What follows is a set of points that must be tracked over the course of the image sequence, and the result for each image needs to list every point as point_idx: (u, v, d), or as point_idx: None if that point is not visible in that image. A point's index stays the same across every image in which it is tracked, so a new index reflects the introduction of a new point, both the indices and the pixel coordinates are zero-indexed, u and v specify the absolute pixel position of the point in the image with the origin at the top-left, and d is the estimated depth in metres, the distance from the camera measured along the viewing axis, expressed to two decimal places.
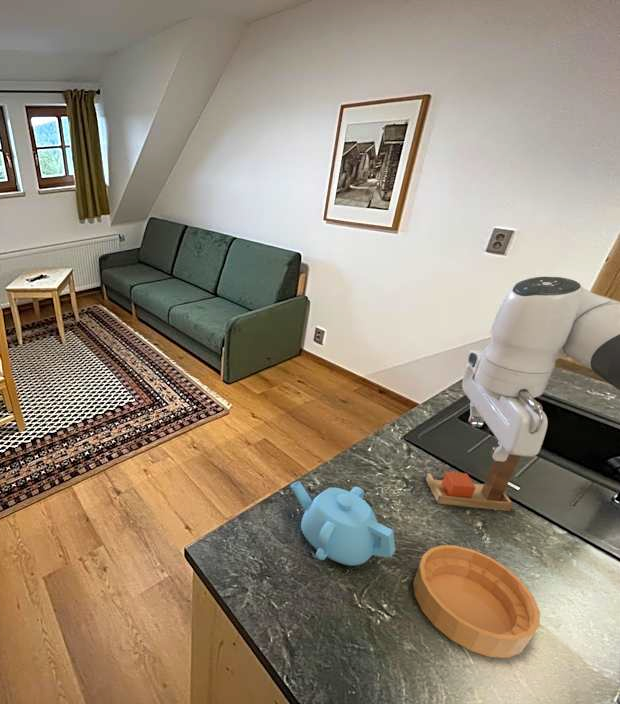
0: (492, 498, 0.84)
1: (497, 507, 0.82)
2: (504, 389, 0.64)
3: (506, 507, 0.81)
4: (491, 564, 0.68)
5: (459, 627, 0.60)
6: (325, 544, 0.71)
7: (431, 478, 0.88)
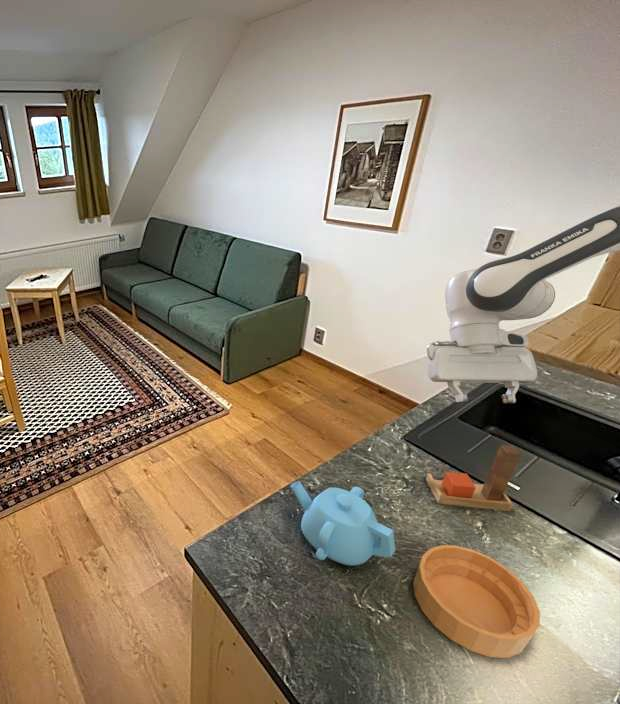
0: (492, 498, 0.84)
1: (497, 507, 0.82)
2: None
3: (506, 507, 0.81)
4: (491, 564, 0.68)
5: (459, 627, 0.60)
6: (325, 544, 0.71)
7: (431, 478, 0.88)
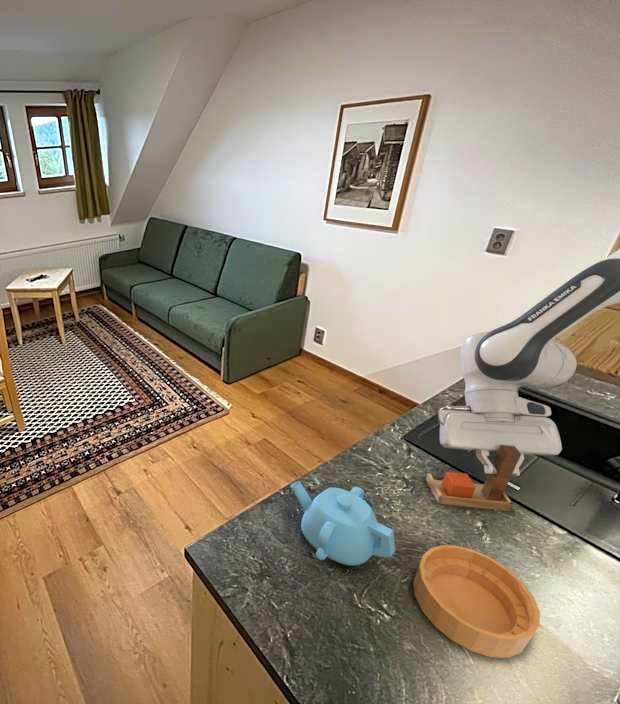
0: (492, 498, 0.84)
1: (497, 507, 0.82)
2: None
3: (506, 507, 0.81)
4: (491, 564, 0.68)
5: (459, 627, 0.60)
6: (325, 544, 0.71)
7: (431, 478, 0.88)
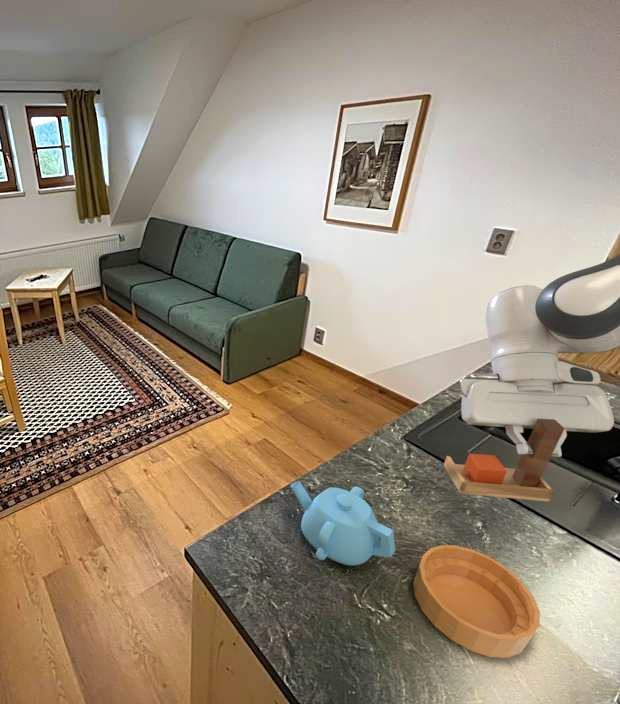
0: (526, 484, 0.69)
1: (534, 495, 0.67)
2: None
3: (545, 495, 0.67)
4: (491, 564, 0.68)
5: (459, 627, 0.60)
6: (325, 544, 0.71)
7: (451, 462, 0.74)
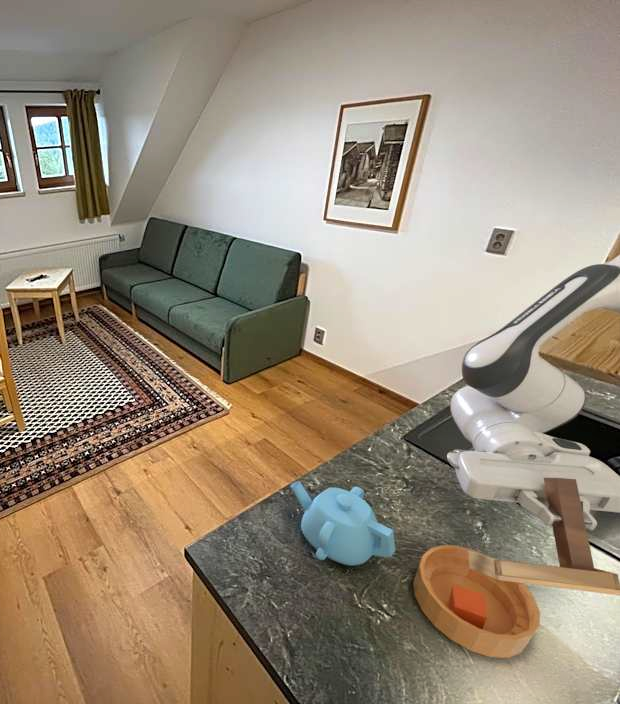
0: None
1: (597, 583, 0.50)
2: None
3: (610, 582, 0.49)
4: None
5: (459, 627, 0.60)
6: (325, 544, 0.71)
7: (474, 552, 0.57)
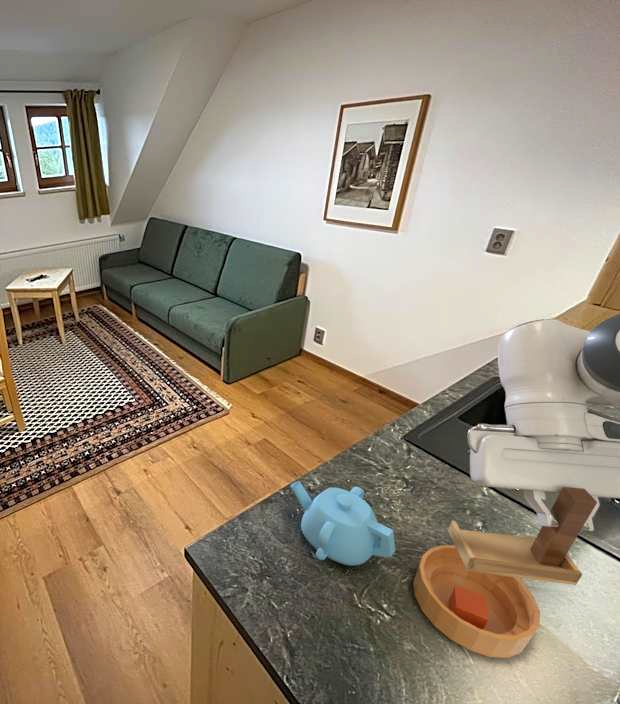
0: (548, 562, 0.57)
1: (558, 578, 0.56)
2: None
3: (571, 578, 0.55)
4: None
5: (459, 627, 0.60)
6: (325, 544, 0.71)
7: (457, 529, 0.62)
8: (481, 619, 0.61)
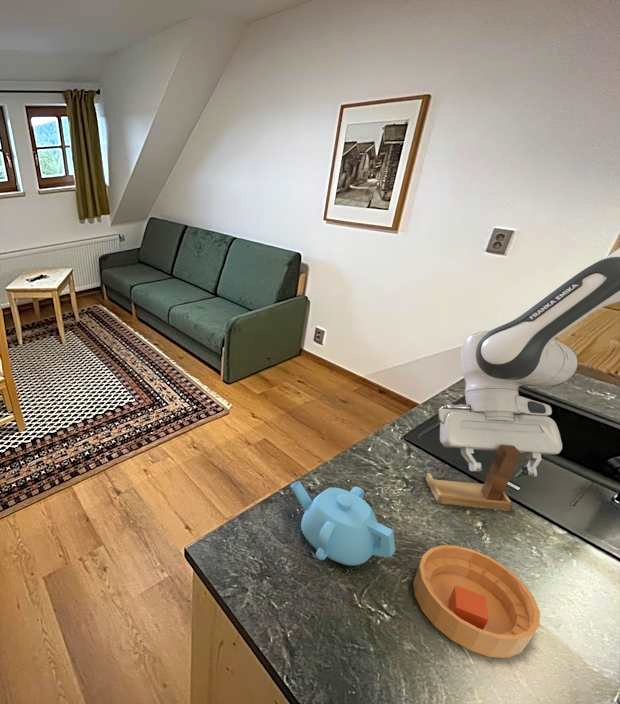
0: (492, 498, 0.84)
1: (497, 507, 0.82)
2: None
3: (506, 507, 0.81)
4: (491, 564, 0.68)
5: (459, 627, 0.60)
6: (325, 544, 0.71)
7: (431, 478, 0.88)
8: (481, 619, 0.61)
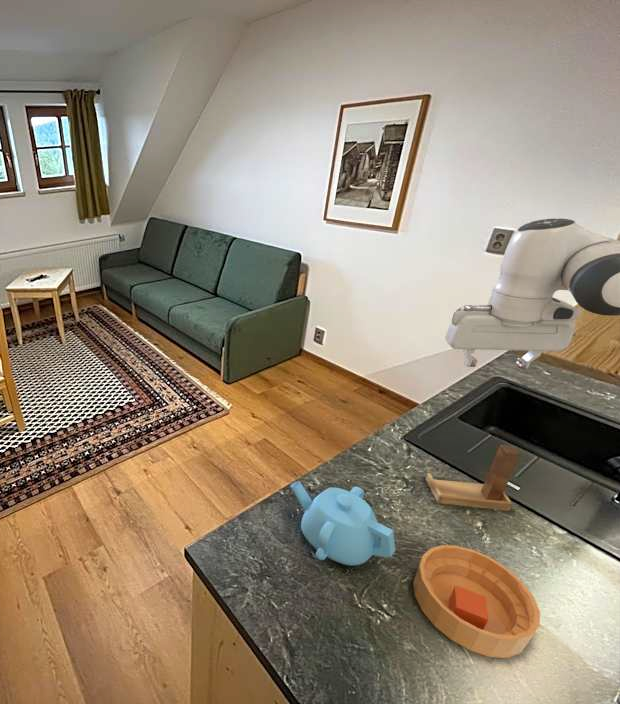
0: (492, 498, 0.84)
1: (497, 507, 0.82)
2: None
3: (506, 507, 0.81)
4: (491, 564, 0.68)
5: (459, 627, 0.60)
6: (325, 544, 0.71)
7: (431, 478, 0.88)
8: (481, 619, 0.61)
